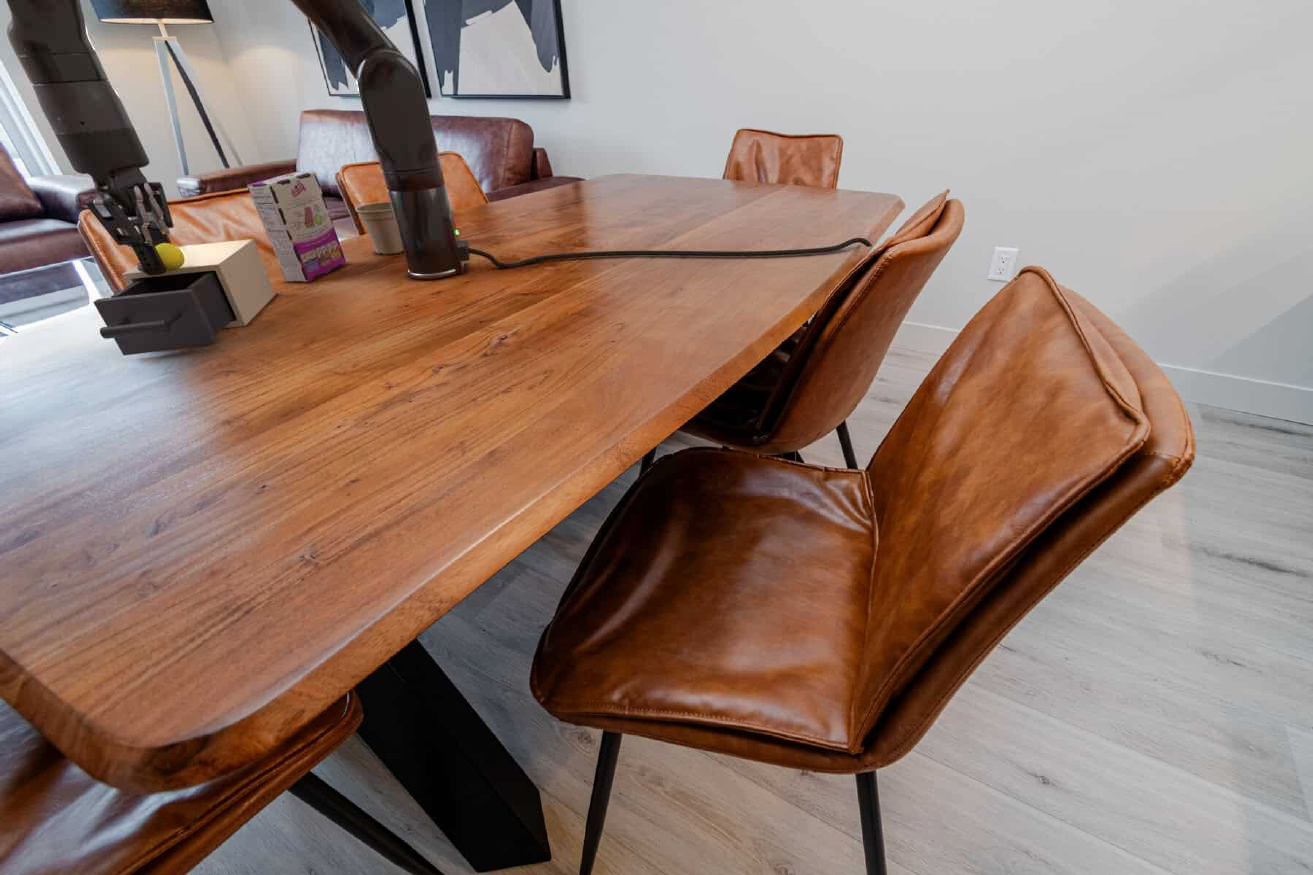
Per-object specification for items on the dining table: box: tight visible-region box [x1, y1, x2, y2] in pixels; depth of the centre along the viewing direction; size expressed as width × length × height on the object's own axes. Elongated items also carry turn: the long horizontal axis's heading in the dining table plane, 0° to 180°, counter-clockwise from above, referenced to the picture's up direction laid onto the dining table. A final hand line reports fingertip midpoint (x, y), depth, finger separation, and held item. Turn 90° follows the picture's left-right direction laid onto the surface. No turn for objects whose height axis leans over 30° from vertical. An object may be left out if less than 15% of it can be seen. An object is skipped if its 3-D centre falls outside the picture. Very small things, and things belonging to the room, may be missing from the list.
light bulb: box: [136, 243, 185, 273], centre depth 80 cm, size 3×6×4 cm, turn 103°
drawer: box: [92, 270, 235, 356], centre depth 81 cm, size 18×11×7 cm, turn 13°
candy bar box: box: [246, 171, 347, 283], centre depth 105 cm, size 11×5×16 cm, turn 168°
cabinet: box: [121, 238, 276, 329], centre depth 91 cm, size 15×12×9 cm
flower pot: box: [354, 200, 404, 255], centre depth 118 cm, size 9×9×9 cm
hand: (164, 269), depth 81 cm, fingers closed on light bulb, 3 cm apart
